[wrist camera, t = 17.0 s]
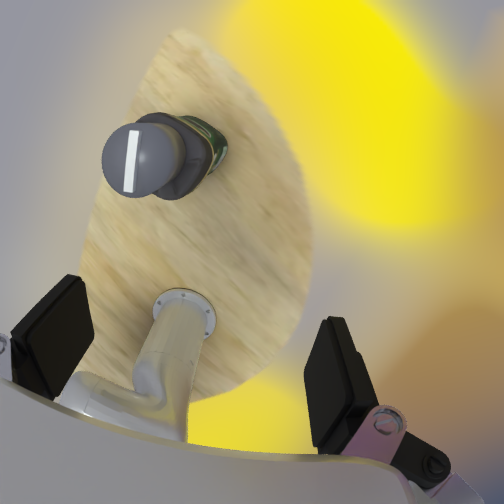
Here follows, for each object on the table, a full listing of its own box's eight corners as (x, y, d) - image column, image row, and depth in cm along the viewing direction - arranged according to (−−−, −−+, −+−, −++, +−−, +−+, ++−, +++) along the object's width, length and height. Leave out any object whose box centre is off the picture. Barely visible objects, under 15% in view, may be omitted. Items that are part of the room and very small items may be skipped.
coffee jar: (158, 151, 42) (99, 167, 25) (185, 109, 39) (137, 98, 22) (207, 183, 44) (175, 218, 27) (236, 142, 41) (220, 150, 24)
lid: (131, 121, 23) (102, 121, 18) (190, 126, 24) (172, 126, 18) (124, 181, 26) (96, 194, 21) (181, 189, 26) (162, 205, 21)
